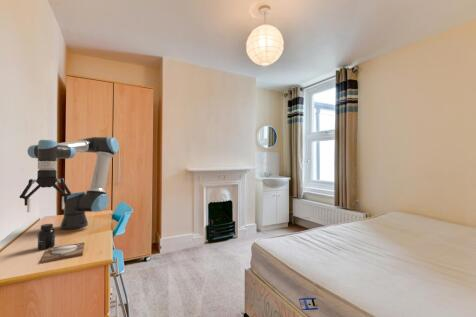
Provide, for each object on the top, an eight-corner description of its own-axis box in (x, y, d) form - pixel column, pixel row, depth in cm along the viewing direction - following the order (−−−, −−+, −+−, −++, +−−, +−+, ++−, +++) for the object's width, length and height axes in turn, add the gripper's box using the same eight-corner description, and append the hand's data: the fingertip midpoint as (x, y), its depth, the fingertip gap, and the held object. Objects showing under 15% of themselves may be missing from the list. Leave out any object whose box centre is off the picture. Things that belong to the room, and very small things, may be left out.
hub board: (48, 250, 111) (48, 246, 111) (84, 244, 119) (84, 240, 119) (41, 263, 98) (41, 258, 98) (82, 255, 106) (82, 251, 106)
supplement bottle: (35, 251, 110) (35, 227, 110) (40, 246, 117) (41, 223, 117) (52, 249, 113) (52, 225, 113) (56, 244, 119) (57, 222, 119)
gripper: (11, 170, 105) (10, 214, 105) (76, 169, 119) (75, 209, 118) (16, 169, 112) (15, 211, 111) (77, 169, 125) (76, 206, 125)
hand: (46, 210), depth 115 cm, fingers open, 13 cm apart
